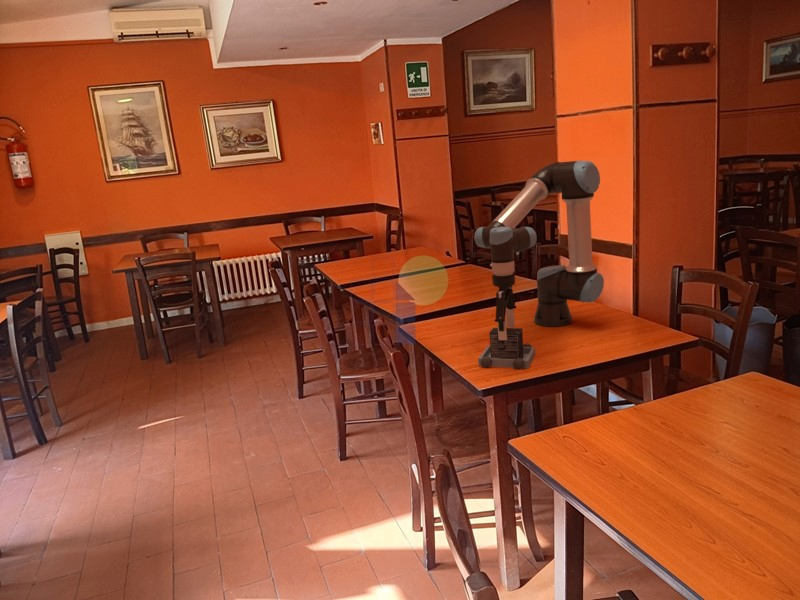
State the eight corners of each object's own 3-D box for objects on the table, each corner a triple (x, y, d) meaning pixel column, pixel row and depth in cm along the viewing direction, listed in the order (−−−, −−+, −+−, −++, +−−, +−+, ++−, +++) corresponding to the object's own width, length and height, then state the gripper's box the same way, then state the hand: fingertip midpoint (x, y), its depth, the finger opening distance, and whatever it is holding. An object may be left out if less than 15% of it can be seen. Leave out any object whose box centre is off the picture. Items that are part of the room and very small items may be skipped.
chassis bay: (489, 351, 220) (488, 341, 219) (535, 353, 213) (535, 343, 213) (477, 367, 205) (476, 357, 204) (527, 370, 198) (527, 359, 198)
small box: (524, 356, 210) (523, 327, 208) (520, 362, 204) (519, 333, 202) (494, 354, 214) (493, 326, 212) (490, 361, 208) (488, 332, 206)
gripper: (500, 265, 214) (503, 322, 220) (483, 282, 192) (487, 345, 198) (521, 264, 211) (524, 322, 217) (506, 282, 189) (510, 345, 195)
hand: (506, 333), depth 207 cm, fingers open, 13 cm apart
